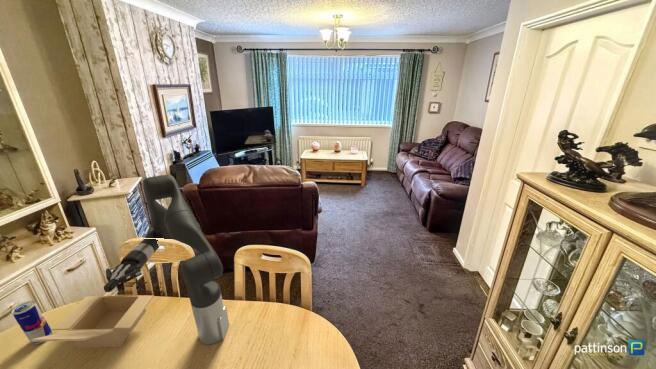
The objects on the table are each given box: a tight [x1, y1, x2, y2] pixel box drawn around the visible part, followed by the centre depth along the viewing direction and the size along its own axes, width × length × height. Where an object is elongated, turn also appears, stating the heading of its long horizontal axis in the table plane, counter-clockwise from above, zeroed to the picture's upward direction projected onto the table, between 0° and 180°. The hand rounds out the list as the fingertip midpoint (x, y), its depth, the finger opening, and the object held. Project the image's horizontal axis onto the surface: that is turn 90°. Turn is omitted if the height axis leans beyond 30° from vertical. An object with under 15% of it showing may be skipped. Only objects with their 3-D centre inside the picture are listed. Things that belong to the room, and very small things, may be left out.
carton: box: [52, 294, 155, 348], centre depth 88 cm, size 24×14×8 cm, turn 93°
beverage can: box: [11, 300, 53, 345], centre depth 83 cm, size 5×5×15 cm
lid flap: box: [29, 330, 113, 343], centre depth 75 cm, size 14×11×1 cm
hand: (106, 290), depth 87 cm, fingers closed
